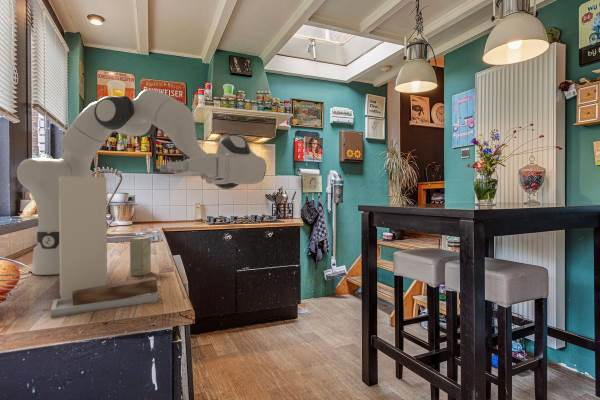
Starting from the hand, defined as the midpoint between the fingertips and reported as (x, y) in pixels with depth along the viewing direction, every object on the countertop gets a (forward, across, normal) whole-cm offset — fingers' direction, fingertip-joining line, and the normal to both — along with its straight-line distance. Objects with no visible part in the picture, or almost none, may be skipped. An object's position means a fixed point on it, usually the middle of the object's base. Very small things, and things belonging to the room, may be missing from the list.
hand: (163, 166), depth 94 cm
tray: (+14, +3, +34) cm, 37 cm away
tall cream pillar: (+19, -10, +34) cm, 40 cm away
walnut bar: (+12, +3, +33) cm, 35 cm away
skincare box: (+2, -29, +34) cm, 45 cm away
